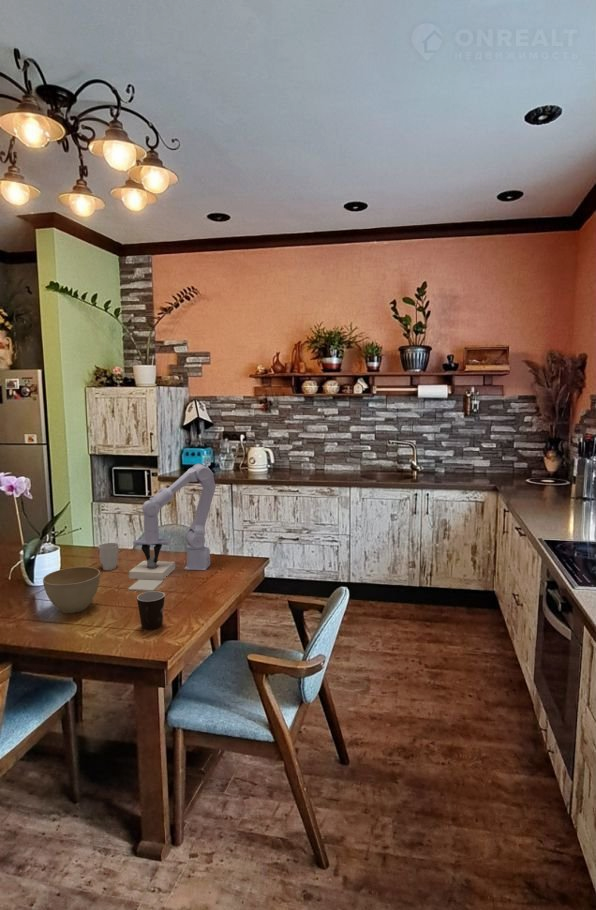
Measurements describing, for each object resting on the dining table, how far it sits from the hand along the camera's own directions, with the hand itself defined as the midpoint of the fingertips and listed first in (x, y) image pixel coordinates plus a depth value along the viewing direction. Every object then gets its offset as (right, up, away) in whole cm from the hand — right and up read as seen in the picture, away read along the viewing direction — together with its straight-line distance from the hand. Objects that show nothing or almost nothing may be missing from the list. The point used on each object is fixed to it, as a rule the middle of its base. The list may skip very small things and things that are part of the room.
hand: (152, 562), depth 222 cm
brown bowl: (-18, -9, -35) cm, 40 cm away
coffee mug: (+12, -11, -50) cm, 53 cm away
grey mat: (+1, -7, -14) cm, 15 cm away
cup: (-20, -4, +7) cm, 22 cm away
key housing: (0, -5, +1) cm, 5 cm away
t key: (0, -4, +1) cm, 4 cm away
